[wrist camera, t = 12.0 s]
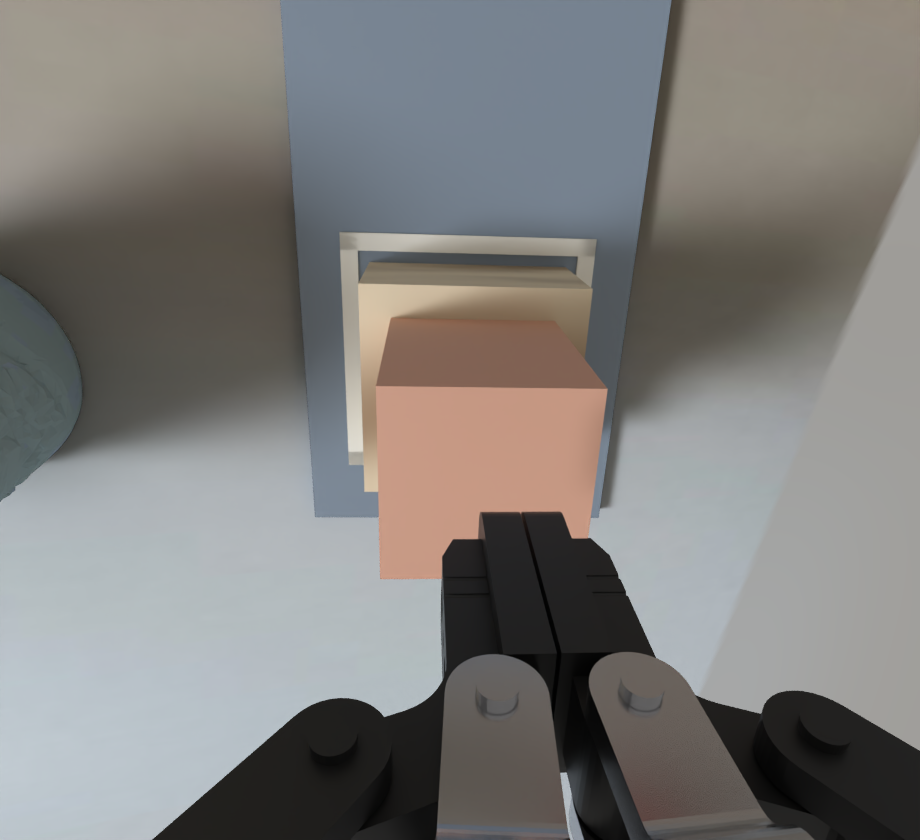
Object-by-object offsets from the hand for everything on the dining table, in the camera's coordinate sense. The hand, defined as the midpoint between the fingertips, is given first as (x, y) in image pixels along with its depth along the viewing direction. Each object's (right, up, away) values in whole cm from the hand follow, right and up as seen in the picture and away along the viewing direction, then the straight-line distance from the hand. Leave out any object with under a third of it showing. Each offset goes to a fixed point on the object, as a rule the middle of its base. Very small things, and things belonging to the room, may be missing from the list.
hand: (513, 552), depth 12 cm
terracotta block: (-1, +3, +8) cm, 9 cm away
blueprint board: (-1, +10, +10) cm, 14 cm away
